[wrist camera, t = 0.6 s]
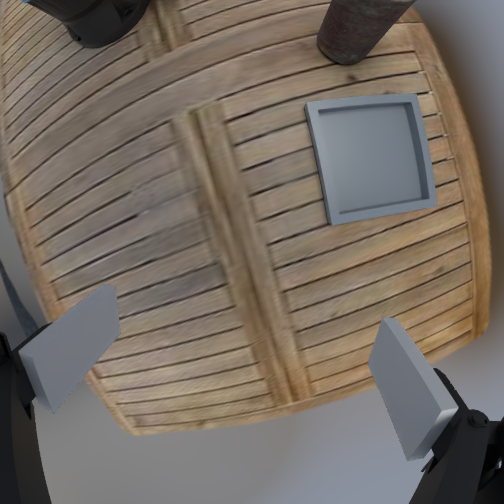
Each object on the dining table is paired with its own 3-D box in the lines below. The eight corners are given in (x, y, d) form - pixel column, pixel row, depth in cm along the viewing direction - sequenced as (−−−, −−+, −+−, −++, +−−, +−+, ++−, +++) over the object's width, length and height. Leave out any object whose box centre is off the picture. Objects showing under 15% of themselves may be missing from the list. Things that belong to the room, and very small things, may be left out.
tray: (303, 107, 35) (306, 102, 33) (407, 98, 34) (416, 93, 31) (327, 221, 39) (331, 225, 36) (427, 204, 37) (437, 206, 34)
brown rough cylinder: (376, 54, 32) (437, -13, 13) (342, 76, 34) (394, 8, 14) (340, 18, 31) (376, -62, 12) (305, 40, 33) (326, -46, 13)
